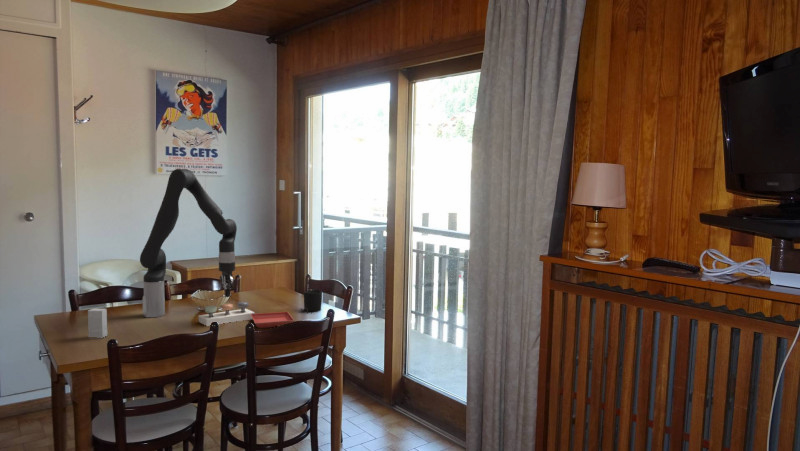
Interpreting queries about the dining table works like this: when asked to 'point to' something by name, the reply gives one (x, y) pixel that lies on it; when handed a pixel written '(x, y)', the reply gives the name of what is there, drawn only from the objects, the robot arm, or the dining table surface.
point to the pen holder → (312, 300)
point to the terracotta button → (227, 308)
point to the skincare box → (97, 323)
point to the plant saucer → (271, 319)
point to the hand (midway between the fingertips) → (227, 296)
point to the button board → (226, 317)
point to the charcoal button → (242, 306)
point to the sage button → (210, 310)
